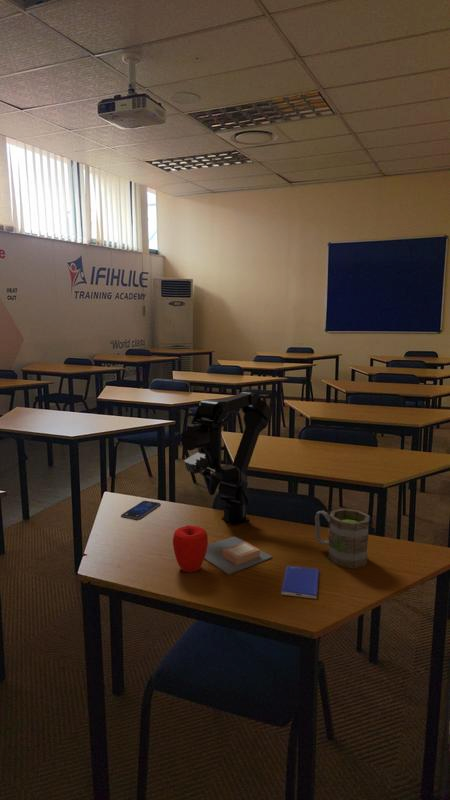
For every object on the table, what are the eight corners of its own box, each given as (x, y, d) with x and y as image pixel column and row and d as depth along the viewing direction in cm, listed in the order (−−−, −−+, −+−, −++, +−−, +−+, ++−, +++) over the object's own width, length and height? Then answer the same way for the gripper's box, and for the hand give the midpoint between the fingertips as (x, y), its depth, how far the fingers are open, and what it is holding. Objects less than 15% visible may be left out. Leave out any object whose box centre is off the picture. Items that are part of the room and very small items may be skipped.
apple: (201, 558, 135) (202, 519, 133) (212, 573, 127) (212, 532, 125) (169, 563, 132) (169, 523, 130) (178, 579, 124) (177, 537, 122)
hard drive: (286, 565, 129) (281, 590, 117) (319, 568, 128) (317, 594, 116) (286, 570, 130) (281, 596, 118) (318, 574, 128) (316, 601, 116)
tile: (245, 541, 139) (260, 549, 135) (245, 548, 140) (259, 556, 135) (222, 549, 135) (236, 557, 130) (222, 556, 135) (236, 565, 130)
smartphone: (119, 515, 162) (143, 500, 176) (119, 518, 162) (143, 502, 176) (138, 518, 160) (162, 502, 173) (139, 521, 160) (162, 505, 173)
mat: (234, 537, 148) (234, 536, 148) (272, 557, 135) (272, 556, 135) (192, 551, 139) (192, 550, 139) (228, 574, 126) (228, 573, 126)
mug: (375, 558, 136) (378, 515, 134) (356, 572, 128) (358, 527, 126) (324, 540, 146) (326, 501, 144) (303, 553, 138) (305, 511, 136)
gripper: (170, 441, 148) (171, 491, 151) (209, 454, 134) (209, 510, 137) (201, 435, 155) (201, 484, 158) (240, 448, 141) (240, 501, 144)
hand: (211, 494), depth 149 cm, fingers closed
